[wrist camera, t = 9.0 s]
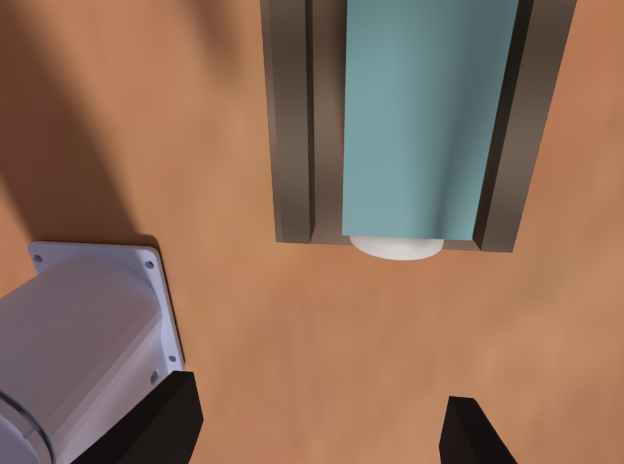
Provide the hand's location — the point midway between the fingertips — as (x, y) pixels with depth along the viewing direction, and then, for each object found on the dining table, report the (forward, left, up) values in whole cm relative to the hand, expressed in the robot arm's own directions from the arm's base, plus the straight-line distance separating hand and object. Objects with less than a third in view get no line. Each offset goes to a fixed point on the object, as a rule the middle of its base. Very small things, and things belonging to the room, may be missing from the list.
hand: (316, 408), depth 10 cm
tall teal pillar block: (+9, -2, -8) cm, 13 cm away
